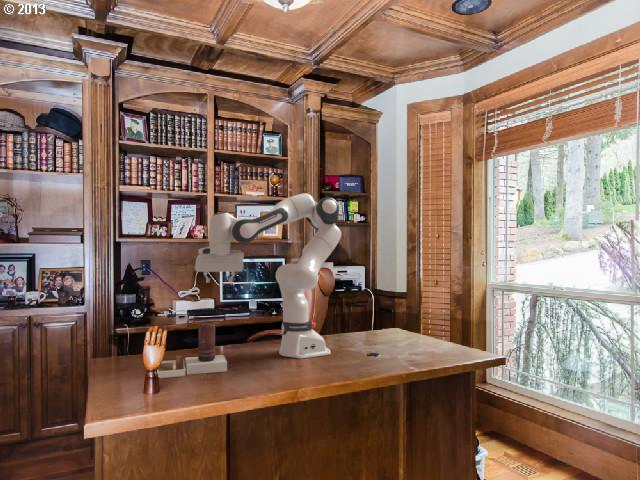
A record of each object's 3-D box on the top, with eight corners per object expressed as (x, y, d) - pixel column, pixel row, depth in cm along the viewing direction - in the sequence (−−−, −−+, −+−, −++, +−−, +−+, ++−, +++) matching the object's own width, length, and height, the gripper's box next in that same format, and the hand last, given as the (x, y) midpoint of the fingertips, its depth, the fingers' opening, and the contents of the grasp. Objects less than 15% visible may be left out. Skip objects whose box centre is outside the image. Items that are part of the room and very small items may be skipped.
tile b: (158, 363, 165) (158, 370, 165) (158, 366, 161) (158, 373, 161) (172, 362, 167) (172, 369, 167) (173, 365, 163) (172, 372, 163)
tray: (183, 365, 173) (183, 359, 173) (185, 376, 160) (185, 369, 160) (156, 367, 169) (156, 361, 169) (155, 378, 156) (155, 371, 156)
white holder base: (223, 363, 176) (223, 354, 176) (226, 371, 166) (227, 361, 166) (185, 366, 172) (185, 357, 172) (186, 374, 161) (186, 365, 161)
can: (211, 362, 165) (211, 324, 165) (195, 361, 166) (195, 324, 166) (218, 358, 171) (218, 322, 171) (202, 357, 172) (203, 321, 172)
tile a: (182, 355, 168) (175, 355, 167) (183, 357, 164) (176, 358, 163) (182, 368, 168) (175, 369, 167) (183, 371, 164) (176, 371, 163)
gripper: (242, 250, 197) (242, 281, 197) (195, 249, 190) (194, 282, 190) (245, 250, 191) (244, 282, 191) (196, 250, 184) (195, 283, 184)
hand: (219, 282), depth 190 cm, fingers open, 8 cm apart
